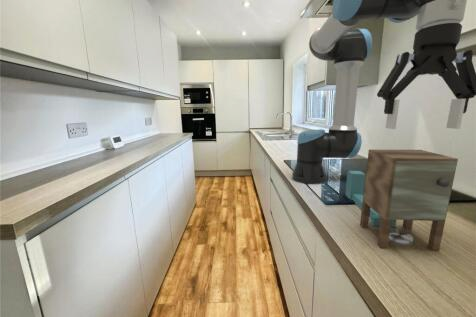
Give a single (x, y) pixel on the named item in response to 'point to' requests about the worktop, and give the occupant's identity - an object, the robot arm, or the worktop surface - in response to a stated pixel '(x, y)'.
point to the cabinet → (408, 190)
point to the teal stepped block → (361, 194)
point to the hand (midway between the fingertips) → (421, 128)
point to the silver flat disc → (400, 237)
